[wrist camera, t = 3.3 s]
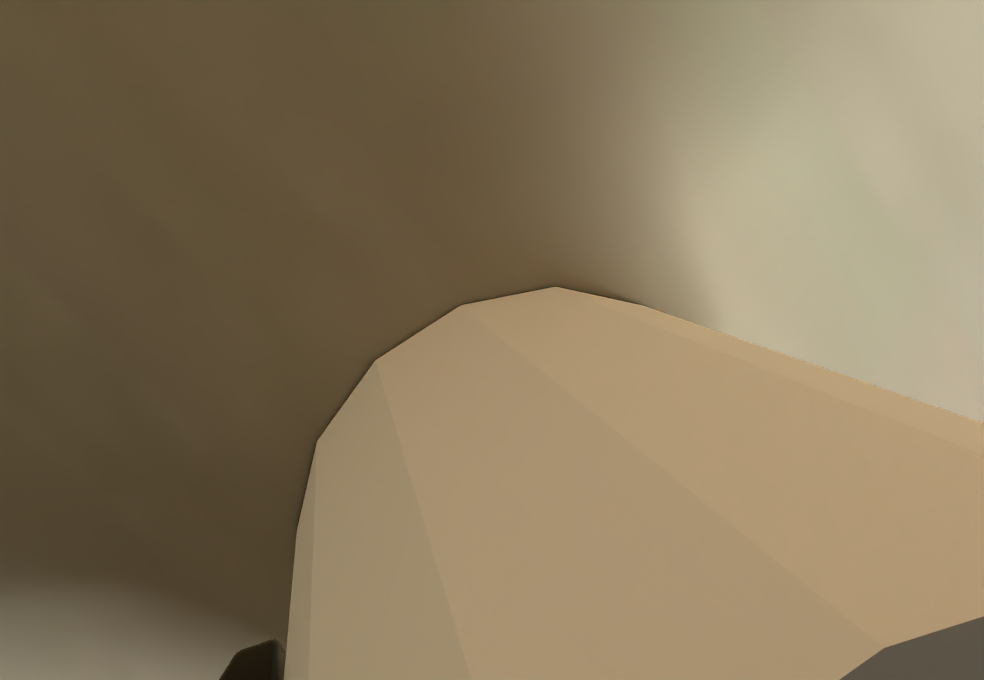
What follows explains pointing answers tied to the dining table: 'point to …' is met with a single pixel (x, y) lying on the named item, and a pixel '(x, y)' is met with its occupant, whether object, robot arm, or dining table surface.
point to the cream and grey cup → (633, 511)
